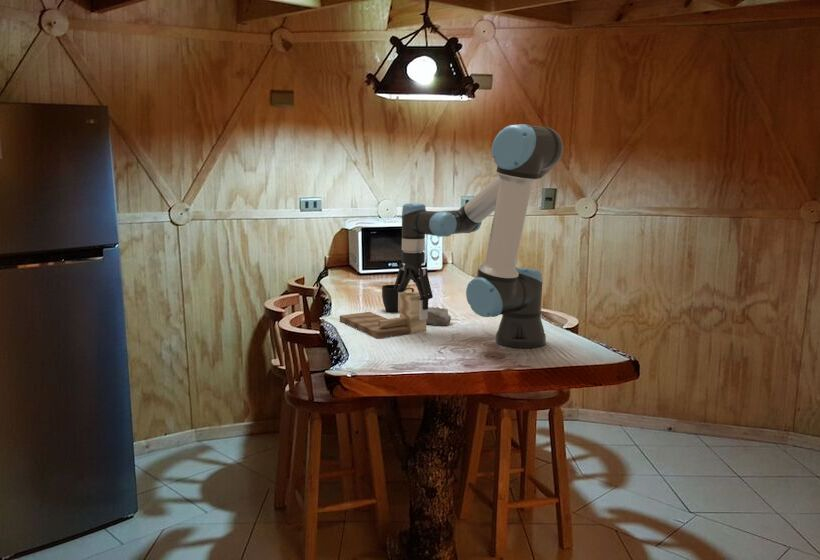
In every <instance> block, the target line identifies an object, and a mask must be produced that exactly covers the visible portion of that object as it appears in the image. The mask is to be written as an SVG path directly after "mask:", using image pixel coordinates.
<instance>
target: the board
mask: <svg viewBox="0 0 820 560" xmlns="http://www.w3.org/2000/svg"><path fill="white" fill-rule="evenodd" d="M385 319H388V318H387V317H384V316H381V315H379V314H377V313H374V312H372V311H365V312H358V313H350V314H342V315H339V322H340V323H342V324H345V323H346V324H345V325H347V324H348V325H347V326H349V325H350V327H351V326H352V328H353V327H354V329H356V328H357V330H358V331H360V330H361V331H360V332H362V331H363V332H362V333H364V332H365V334H366V333H367V334H366V335H369V336H371V337H373V338H375V339H378V338H379V339H385V337H386V338H391V336H392V337H397V336H398V335H399V336H405V334H406V335H410V334H411V333H410V328H409V327H407V326H404V325H397V326H390V327H385V328H383V327H382V328H381V327H379V326H378V320H385Z"/></svg>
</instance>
